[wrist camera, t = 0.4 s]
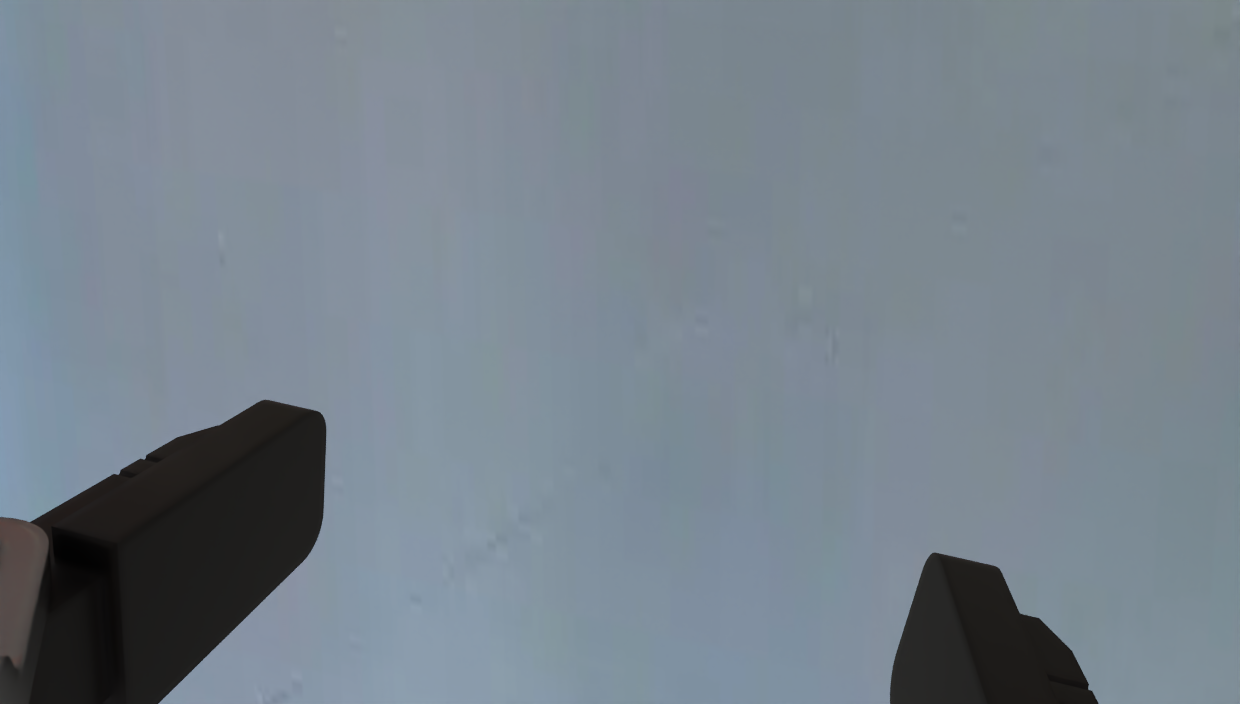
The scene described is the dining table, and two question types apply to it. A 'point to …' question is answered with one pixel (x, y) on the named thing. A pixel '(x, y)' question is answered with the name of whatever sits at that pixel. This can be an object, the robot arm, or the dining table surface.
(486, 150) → the dining table surface
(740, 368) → the dining table surface
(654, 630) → the dining table surface
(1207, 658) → the dining table surface
